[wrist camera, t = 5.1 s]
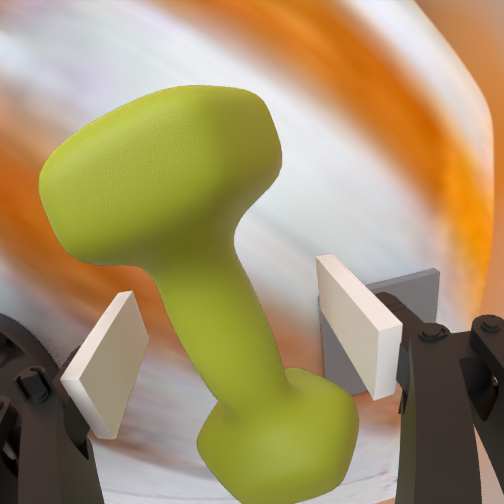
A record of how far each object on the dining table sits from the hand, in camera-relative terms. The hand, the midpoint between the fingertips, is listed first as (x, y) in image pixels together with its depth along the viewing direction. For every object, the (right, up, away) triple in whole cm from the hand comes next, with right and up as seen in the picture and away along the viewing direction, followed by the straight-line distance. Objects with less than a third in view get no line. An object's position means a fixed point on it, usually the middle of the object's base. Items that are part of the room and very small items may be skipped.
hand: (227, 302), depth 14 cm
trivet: (+14, -6, +14) cm, 20 cm away
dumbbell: (0, 0, +1) cm, 1 cm away
